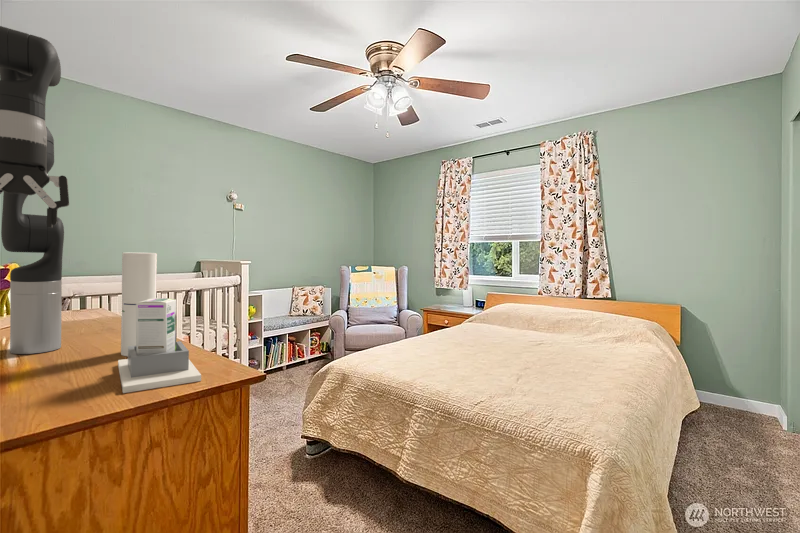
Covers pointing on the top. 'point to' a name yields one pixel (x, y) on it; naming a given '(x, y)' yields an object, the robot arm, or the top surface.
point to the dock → (156, 369)
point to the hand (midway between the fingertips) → (19, 226)
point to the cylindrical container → (135, 291)
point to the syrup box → (155, 326)
